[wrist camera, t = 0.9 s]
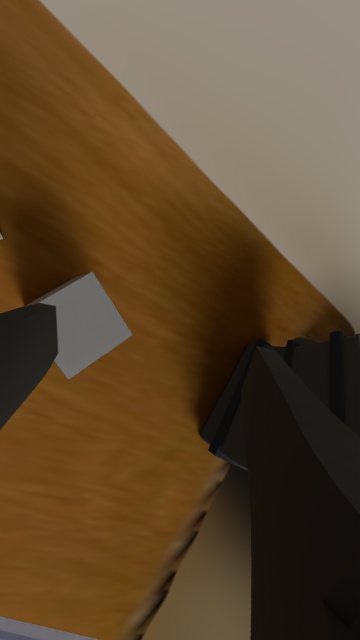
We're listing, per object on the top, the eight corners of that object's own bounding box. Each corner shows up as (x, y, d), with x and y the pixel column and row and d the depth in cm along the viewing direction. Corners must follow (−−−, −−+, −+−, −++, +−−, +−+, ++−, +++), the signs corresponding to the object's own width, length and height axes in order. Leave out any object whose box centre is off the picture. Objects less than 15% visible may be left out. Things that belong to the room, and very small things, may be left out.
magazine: (186, 476, 26) (368, 506, 15) (215, 349, 33) (354, 306, 22) (215, 488, 28) (400, 523, 17) (237, 364, 35) (378, 331, 24)
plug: (58, 350, 22) (68, 379, 15) (24, 306, 21) (18, 314, 14) (103, 321, 24) (132, 334, 16) (74, 277, 22) (92, 271, 15)
